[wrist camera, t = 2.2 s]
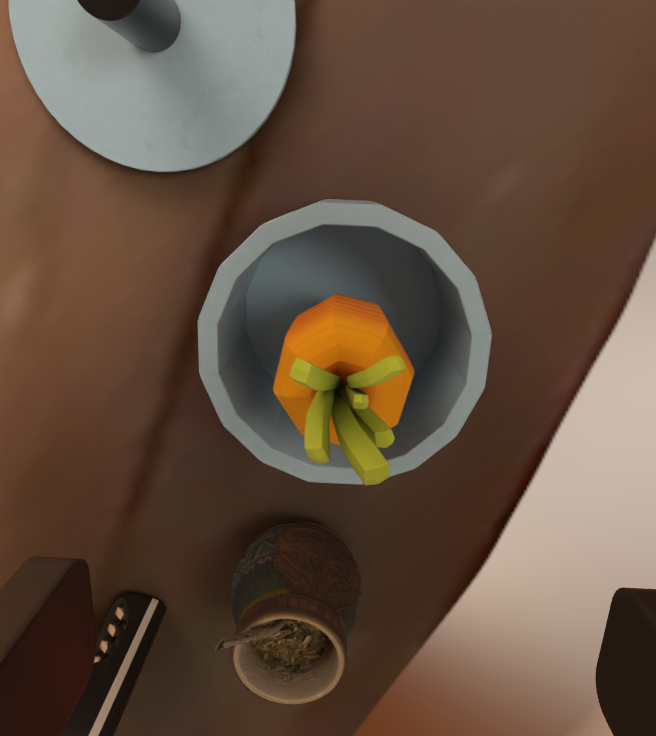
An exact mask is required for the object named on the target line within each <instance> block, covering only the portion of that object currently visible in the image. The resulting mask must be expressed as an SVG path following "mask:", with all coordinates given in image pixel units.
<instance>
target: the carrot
mask: <svg viewBox="0 0 656 736" xmlns="http://www.w3.org/2000/svg"><path fill="white" fill-rule="evenodd" d="M413 376H414V368H413V366H412V364H411V362H410V360H409V358H408V356H407V354H406V352H405V350H404V349H403V347H402V345H401V343H400V341H399V340H398V338H397V336H396V334H395V333H394V331H393V329H392V327H391V326H390V324H389V322H388V320H387V318H386V317H385V315H384V313H383V312H382V310H381V308H380V307H379V305H377V304H375V303H372V302H368V301H365V300H361V299H357V298H353V297H350V296H346V295H342V294H338V293H336V294H334V295H332V296H331V297H329V298H327V299H325V300H324V301H322V302H320V303H318V304H317V305H315V306H313V307H312V308H310V309H308V310H306V311H305V312H303V313H301V314H299V315H298V316H297V317H296V319H295V320H294V322H293V323H292V325H291V327H290V329H289V330H288V332H287V334H286V337H285V341H284V345H283V349H282V353H281V357H280V361H279V365H278V369H277V373H276V377H275V381H274V386H273V392H274V393H275V395H276V396H277V398H278V400H279V401H280V403H281V404H282V406H283V407H284V409H285V410H286V412H287V413H288V415H289V416H290V418H291V420H292V421H293V423H294V424H295V426H296V427H297V429H298V430H299V432H300V433H301V435H302V436H304V448H305V451H306V453H307V456H308V457H309V458H310V459H311V460H312V461H313V462H317V463H321V464H322V463H325V462H329V461H330V443H333V444H337V445H340V446H341V449H342V451H343V452H344V454H345V456H346V458H347V459H348V461H349V463H350V464H351V466H352V468H353V469H354V471H355V472H356V473H357V475H358V476H359V477H360V479H361V480H362V481H363V483H364V484H365V485H374V484H379V483H381V482H382V481H384V480H386V479H387V478H388V477H389V475H390V472H391V471H390V467H389V463H388V462H387V460H386V459H385V458H384V456H383V455H382V454H381V452H380V451H379V450H378V448H377V447H382V448H387V447H388V446H390V445H391V444H393V442H394V439H395V437H394V435H393V432H392V430H391V428H392V427H394V426H396V425H397V424H398V422H399V419H400V416H401V413H402V410H403V407H404V404H405V401H406V398H407V395H408V391H409V388H410V385H411V382H412V379H413Z"/></svg>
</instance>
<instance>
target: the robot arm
mask: <svg viewBox="0 0 656 736" xmlns="http://www.w3.org/2000/svg"><path fill="white" fill-rule="evenodd" d="M95 654H96V632H95V622H94V612H93V603H92V593H91V583H90V574H89V568H88V565H87V563H86V561H85V560H83V559H74V558H54V557H31V558H29V559H27V560H26V561H25V562H24V563H23V564H22V565H21V566H20V568H19V569H18V570H17V571H16V572H15V573H14V575H13V576H12V577H11V578H10V579H9V580H8V582H7V583H6V584H5V585H4V586H3V587H2V589H1V590H0V736H61V734H62V732H63V730H64V728H65V727H66V725H67V723H68V721H69V719H70V717H71V715H72V713H73V711H74V709H75V707H76V705H77V703H78V701H79V700H80V698H81V696H82V694H83V692H84V690H85V688H86V686H87V684H88V681H89V678H90V676H91V672H92V669H93V665H94V660H95ZM596 688H597V694H598V699H599V703H600V707H601V709H602V712H603V715H604V716H605V719H606V721H607V723H608V725H609V727H610V729H611V731H612V733H613V735H614V736H656V589H639V588H638V589H637V588H619V589H618V590H617V591H616V592H615V594H614V596H613V599H612V602H611V607H610V611H609V615H608V619H607V624H606V628H605V632H604V637H603V641H602V645H601V650H600V654H599V658H598V662H597V667H596Z"/></svg>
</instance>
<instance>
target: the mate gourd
mask: <svg viewBox="0 0 656 736" xmlns="http://www.w3.org/2000/svg"><path fill="white" fill-rule="evenodd" d="M360 583H361V577H360V575H359V570H358V566H357V565H356V562H355V560H354V558H353V556H352V555H351V553H350V552H349V550H348V549H347V546H346V545H345V543H344V542H343V541H342V539H341V538H340V537H339V536H338V535H336V534H335V533H334V532H332V531H331V530H329V529H328V528H326V527H324V526H322V525H319V524H315V523H311V522H298V523H287V524H280V525H277V526H275V527H272V528H270V529H268V530H266V531H265V532H263V533H262V534H261V535H260V536H258V537H257V538H256V539H255V540H254V541H253V543H252V544H251V545H250V546H249V548H248V549H246V550H245V553H244V554H243V556H242V557H241V559H240V561H239V562H238V565H237V568H236V570H234V575H233V579H232V585H231V602H232V603H231V604H232V611H233V615H234V618H235V622H236V625H237V628H236V632H235V635H233V636H231V637H228V638H224V639H222V640H221V641H220V642H219V643H218V644H217V646H216V649H215V651H218V650H220V649H224V648H226V649H228V648H229V647H230V646H232V647H231V661H232V666H233V669H234V671H235V673H236V675H237V677H238V679H239V680H240V681H241V683H242V684H243V685H244V686H245V688H246V689H248V690H251V691H253V692H254V693H255V694H256V695H258V697H261V698H263V699H265V700H267V701H270V702H274V703H280V704H288V705H296V704H305V703H310V702H313V701H316V700H319V699H321V698H323V697H325V696H326V695H328V694H329V693H331V692H332V691H333V690H334V689H335V688H336V687H337V686H338V684H339V683H340V681H341V680H342V678H343V676H344V673H345V671H346V667H347V660H348V658H347V636H348V634H349V633H350V631H351V629H352V627H353V625H354V623H355V620H356V618H357V613H358V610H359V603H360V594H361V593H360ZM261 698H259V699H261Z"/></svg>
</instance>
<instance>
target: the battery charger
mask: <svg viewBox="0 0 656 736" xmlns="http://www.w3.org/2000/svg"><path fill="white" fill-rule="evenodd" d="M165 612H166V606H165V605H164V604H162V603H160V602H159V600H156V599H154V598H153V599H150V598H148V597H145V596H143V595H139V594H134V593H124V594H122V595H120V596H119V597H118V598H117V599H116V600H115V602H114V603H113V605H112V607H111V609H110V611H109V613H108V615H107V618H106V620H105V622H104V624H103V626H102V628H101V630H100V633H99V635H98V637H97V639H96V654H95V660H94V665H93V669H92V672H91V676H90V678H89V681H88V684H87V686H86V688H85V690H84V692H83V694H82V696H81V698H80V700H79V701H78V703H77V705H76V707H75V709H74V711H73V713H72V715H71V717H70V719H69V721H68V723H67V725H66V727H65V728H64V730H63V732H62V734H61V736H114V734H115V731H116V729H117V727H118V724H119V722H120V720H121V717H122V715H123V712H124V710H125V708H126V705H127V703H128V701H129V698H130V696H131V693H132V691H133V689H134V686H135V684H136V681H137V679H138V677H139V674H140V672H141V669H142V667H143V665H144V662H145V660H146V657H147V655H148V653H149V650H150V648H151V645H152V643H153V641H154V638H155V636H156V634H157V631H158V629H159V626H160V624H161V622H162V619H163V617H164V615H165Z"/></svg>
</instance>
